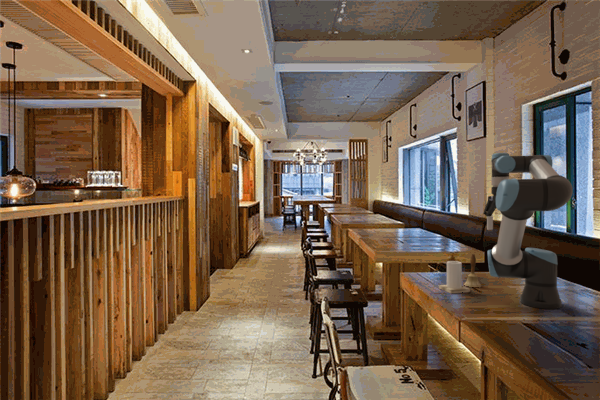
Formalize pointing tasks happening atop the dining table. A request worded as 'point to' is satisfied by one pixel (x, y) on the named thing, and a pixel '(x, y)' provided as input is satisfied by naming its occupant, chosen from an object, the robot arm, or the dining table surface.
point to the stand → (450, 290)
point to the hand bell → (472, 274)
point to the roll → (454, 274)
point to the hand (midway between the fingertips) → (499, 231)
